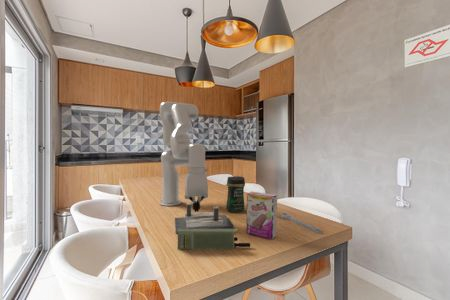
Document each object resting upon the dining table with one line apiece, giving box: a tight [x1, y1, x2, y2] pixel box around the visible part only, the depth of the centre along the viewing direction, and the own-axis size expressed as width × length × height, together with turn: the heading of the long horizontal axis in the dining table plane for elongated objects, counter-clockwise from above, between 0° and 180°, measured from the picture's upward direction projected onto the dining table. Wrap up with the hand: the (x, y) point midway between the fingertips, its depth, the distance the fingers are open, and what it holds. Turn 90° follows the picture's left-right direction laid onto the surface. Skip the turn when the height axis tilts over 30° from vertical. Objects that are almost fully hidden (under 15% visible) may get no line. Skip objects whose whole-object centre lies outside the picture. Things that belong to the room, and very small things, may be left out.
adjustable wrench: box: [278, 212, 323, 234], centre depth 102 cm, size 25×6×2 cm, turn 19°
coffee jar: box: [225, 175, 246, 213], centre depth 120 cm, size 10×8×19 cm
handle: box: [213, 205, 220, 221], centre depth 95 cm, size 2×2×6 cm
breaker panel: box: [174, 211, 235, 235], centre depth 98 cm, size 15×24×4 cm, turn 104°
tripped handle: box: [186, 201, 192, 216], centre depth 101 cm, size 2×2×6 cm
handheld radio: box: [177, 228, 251, 250], centre depth 77 cm, size 7×3×25 cm
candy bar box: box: [245, 191, 278, 240], centre depth 88 cm, size 11×5×16 cm, turn 59°
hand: (196, 210), depth 102 cm, fingers closed
